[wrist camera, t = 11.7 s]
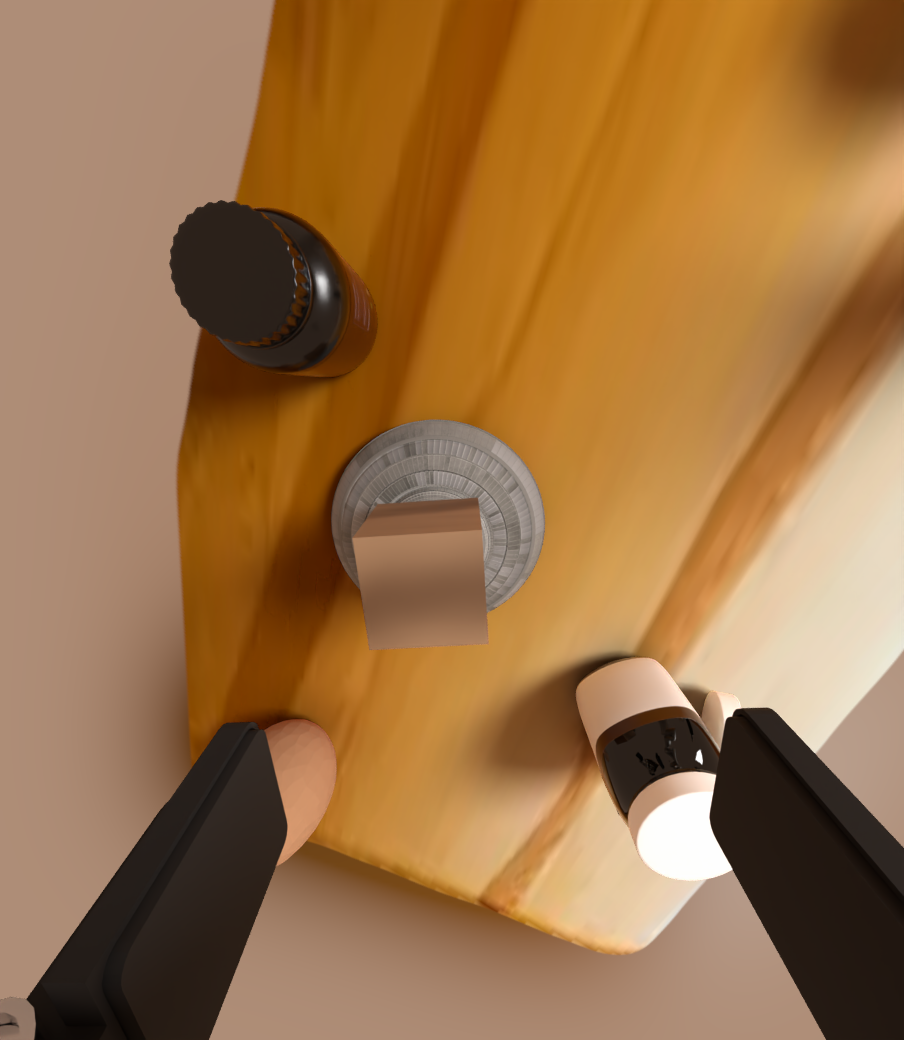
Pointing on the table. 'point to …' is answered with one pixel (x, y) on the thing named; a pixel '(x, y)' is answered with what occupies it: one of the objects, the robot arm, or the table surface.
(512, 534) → the flying saucer
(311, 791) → the egg
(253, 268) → the supplement bottle
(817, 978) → the robot arm
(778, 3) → the table surface
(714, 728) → the spread jar
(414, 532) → the walnut block
